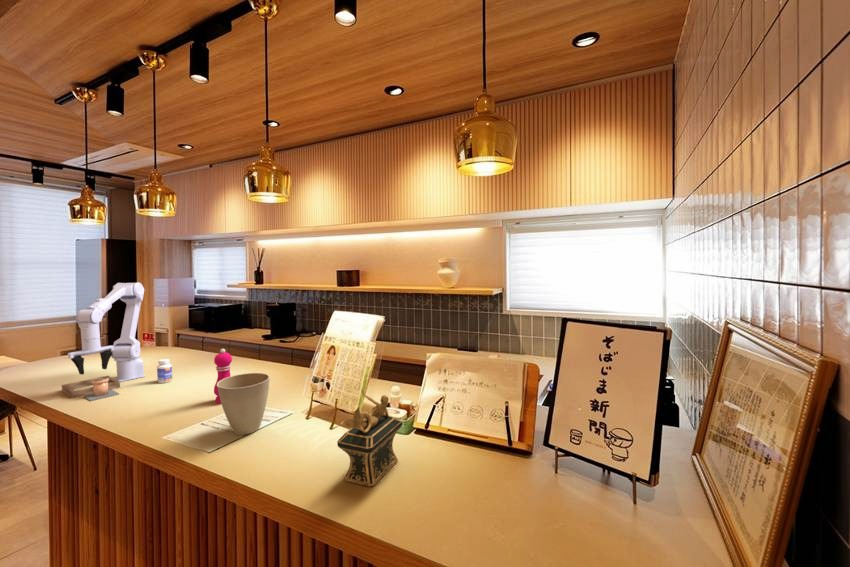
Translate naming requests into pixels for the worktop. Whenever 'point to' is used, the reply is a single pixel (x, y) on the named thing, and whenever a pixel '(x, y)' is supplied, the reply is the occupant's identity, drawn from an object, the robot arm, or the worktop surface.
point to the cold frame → (78, 393)
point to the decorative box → (370, 443)
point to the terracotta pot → (100, 386)
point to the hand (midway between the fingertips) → (93, 371)
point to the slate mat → (92, 397)
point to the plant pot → (244, 400)
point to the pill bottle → (164, 371)
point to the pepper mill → (222, 369)
